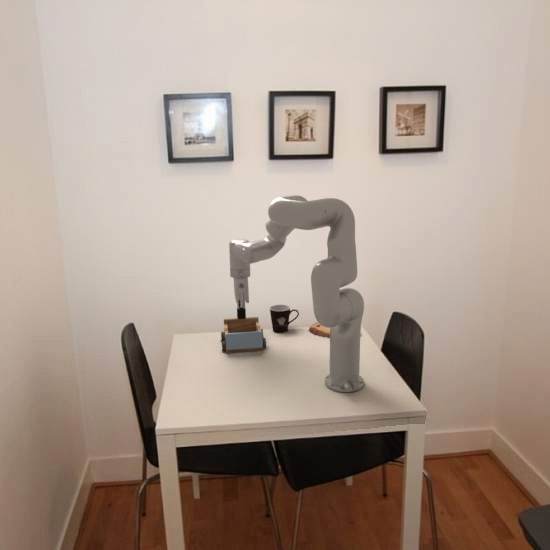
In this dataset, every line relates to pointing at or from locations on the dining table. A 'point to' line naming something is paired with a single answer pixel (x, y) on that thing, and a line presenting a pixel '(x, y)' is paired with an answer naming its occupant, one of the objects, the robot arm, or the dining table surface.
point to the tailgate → (244, 340)
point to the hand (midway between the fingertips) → (241, 318)
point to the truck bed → (241, 326)
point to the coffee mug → (281, 318)
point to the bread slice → (320, 330)
